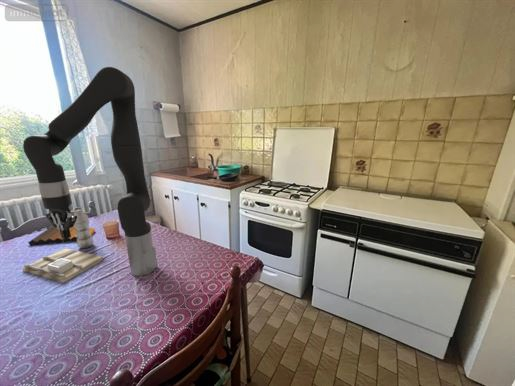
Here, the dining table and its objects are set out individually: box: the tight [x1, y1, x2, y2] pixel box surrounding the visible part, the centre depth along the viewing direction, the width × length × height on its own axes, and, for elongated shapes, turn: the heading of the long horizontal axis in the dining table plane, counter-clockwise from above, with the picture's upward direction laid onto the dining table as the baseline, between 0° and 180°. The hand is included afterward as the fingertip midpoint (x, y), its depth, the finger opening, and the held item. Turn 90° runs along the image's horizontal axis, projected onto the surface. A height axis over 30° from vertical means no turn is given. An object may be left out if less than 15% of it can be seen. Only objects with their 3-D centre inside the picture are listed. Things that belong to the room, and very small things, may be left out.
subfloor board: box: [21, 248, 104, 284], centre depth 94 cm, size 23×16×3 cm
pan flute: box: [27, 225, 96, 246], centre depth 123 cm, size 25×3×25 cm
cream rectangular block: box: [47, 258, 73, 274], centre depth 88 cm, size 6×5×3 cm
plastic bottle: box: [72, 207, 95, 249], centre depth 106 cm, size 6×7×20 cm
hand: (66, 237), depth 82 cm, fingers closed
